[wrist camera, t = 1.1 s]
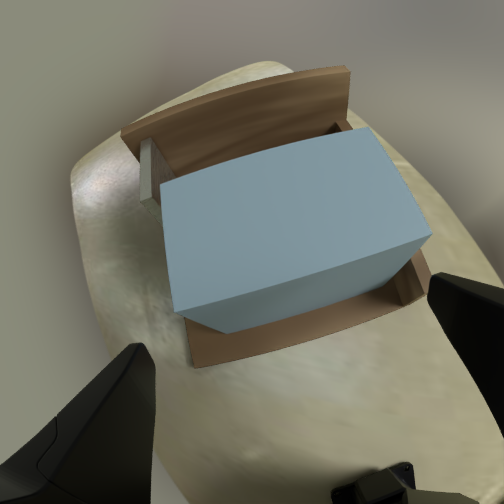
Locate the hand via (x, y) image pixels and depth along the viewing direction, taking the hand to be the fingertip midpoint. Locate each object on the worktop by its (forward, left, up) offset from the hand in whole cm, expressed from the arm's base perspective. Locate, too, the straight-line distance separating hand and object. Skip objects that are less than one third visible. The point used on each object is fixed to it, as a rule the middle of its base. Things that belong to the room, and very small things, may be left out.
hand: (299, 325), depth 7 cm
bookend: (+12, +7, -12) cm, 18 cm away
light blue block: (+6, -1, -12) cm, 13 cm away
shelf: (+8, -1, -13) cm, 15 cm away
